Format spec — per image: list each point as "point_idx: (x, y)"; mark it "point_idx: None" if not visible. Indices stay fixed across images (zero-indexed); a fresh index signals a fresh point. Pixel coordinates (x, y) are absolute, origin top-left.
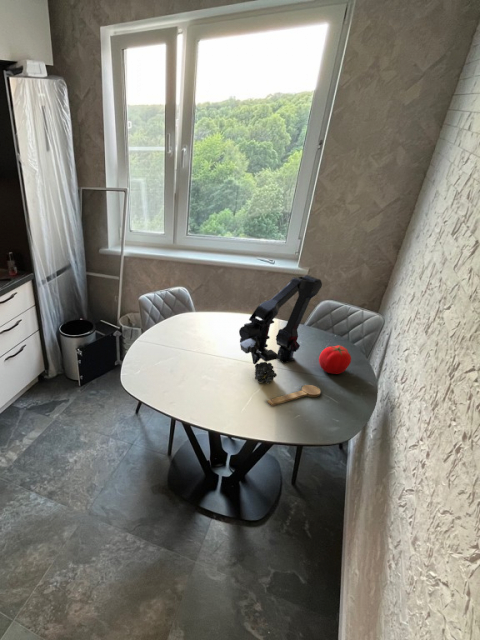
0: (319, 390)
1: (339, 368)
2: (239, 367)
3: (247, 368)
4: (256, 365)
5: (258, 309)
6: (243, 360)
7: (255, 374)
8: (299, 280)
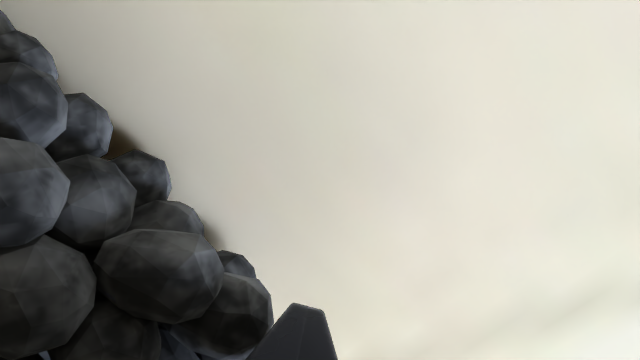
0: None
1: None
2: (542, 112)
3: (408, 192)
4: (151, 278)
5: None
6: (603, 322)
7: None
8: None
